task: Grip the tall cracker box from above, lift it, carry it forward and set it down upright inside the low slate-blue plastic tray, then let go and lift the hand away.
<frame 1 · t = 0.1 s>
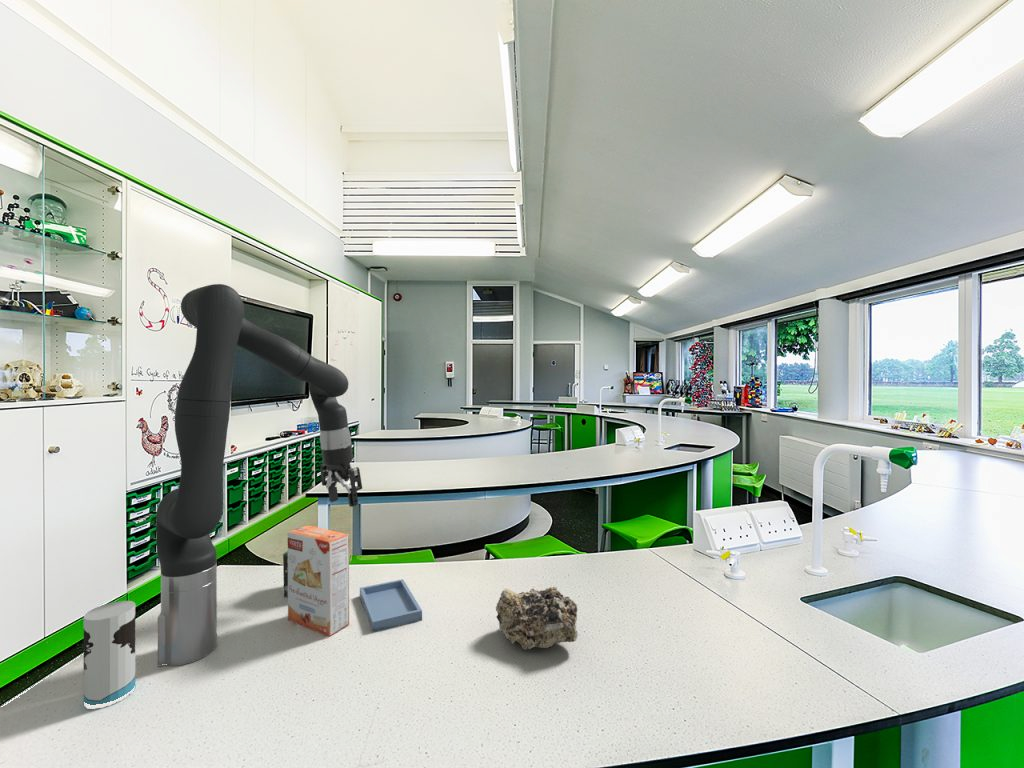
hand: (343, 503, 120), 22 cm above the countertop, tool pointing down, fingers open, 8 cm apart
cracker box: (317, 624, 102), on the countertop
chalk box: (309, 591, 118), on the countertop
white cylindrical canister: (110, 696, 78), on the countertop
mineral specimen: (537, 637, 97), on the countertop
tray: (389, 607, 109), on the countertop
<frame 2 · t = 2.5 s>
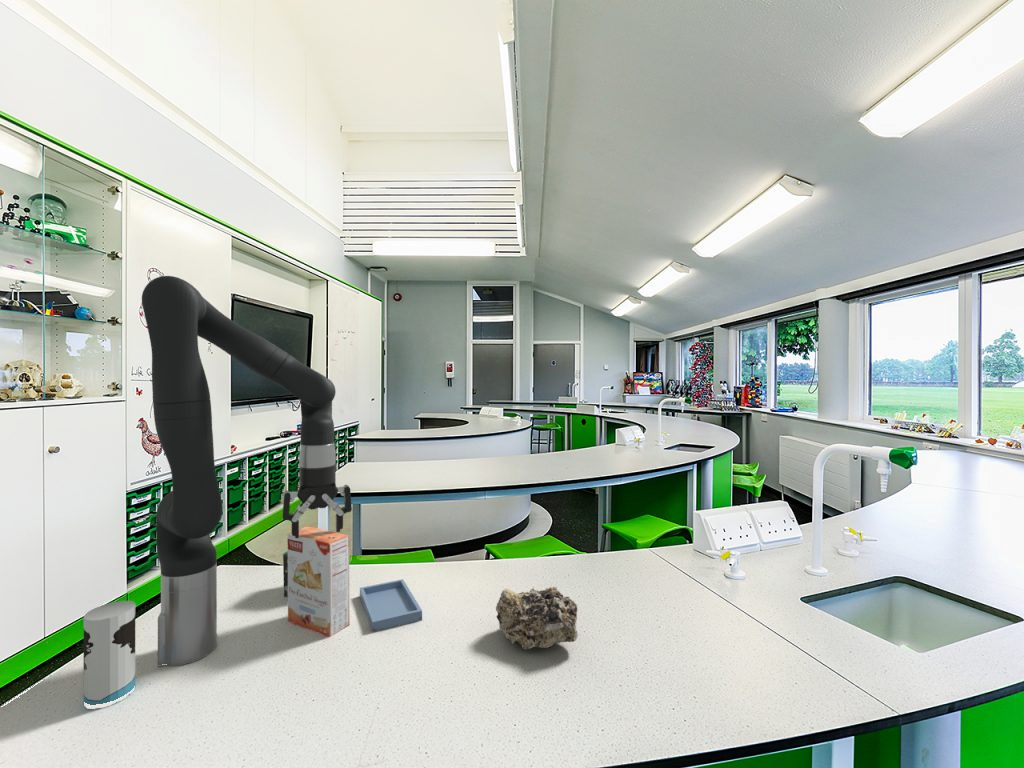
hand: (317, 534, 102), 20 cm above the countertop, tool pointing down, fingers closed on cracker box, 8 cm apart
cracker box: (318, 625, 102), on the countertop, touching gripper
everything else where it was.
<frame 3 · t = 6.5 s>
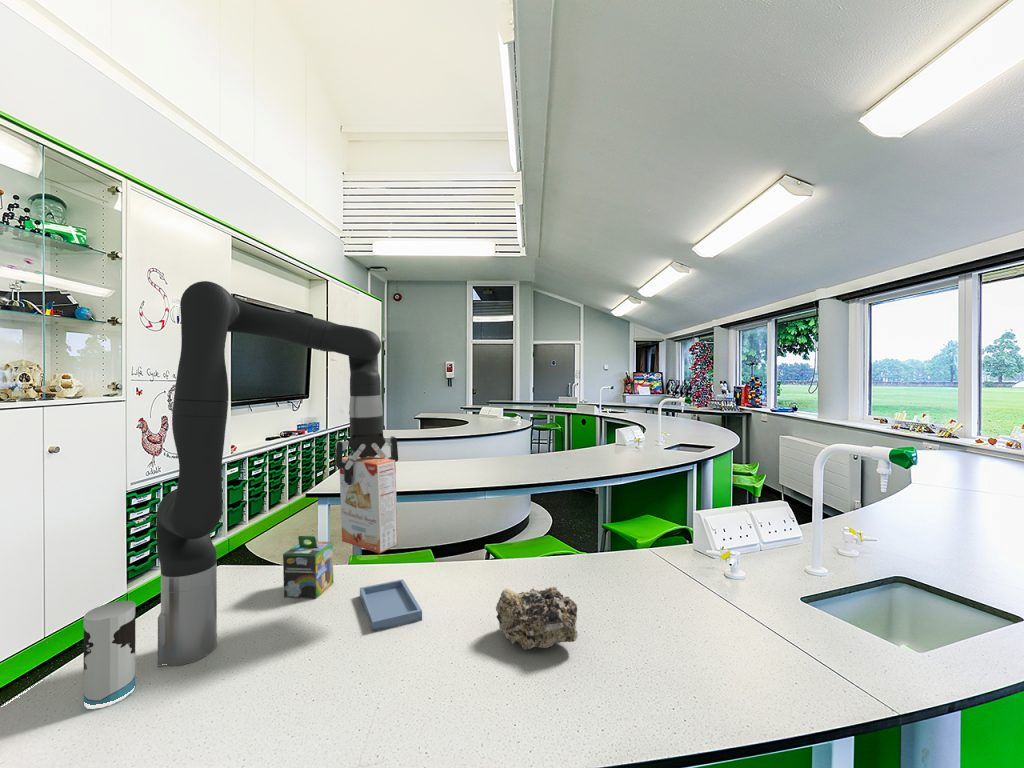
hand: (368, 482, 107), 31 cm above the countertop, tool pointing down, fingers closed on cracker box, 8 cm apart
cracker box: (369, 545, 107), point 16 cm above the countertop, touching gripper
everything else where it was.
when the fingers open (17 cm above the countertop, at t = 9.8 s): cracker box stays where it is, resting on tray.
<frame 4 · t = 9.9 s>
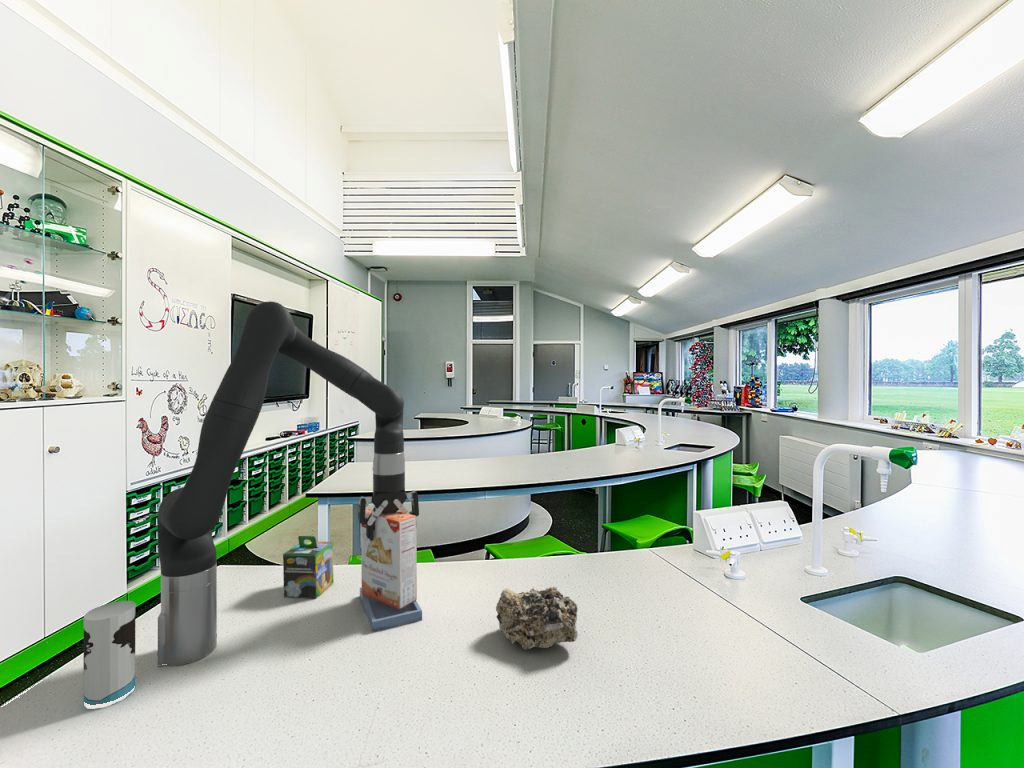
hand: (389, 536, 109), 17 cm above the countertop, tool pointing down, fingers open, 8 cm apart
cracker box: (388, 598, 109), point 2 cm above the countertop, touching tray
everything else where it was.
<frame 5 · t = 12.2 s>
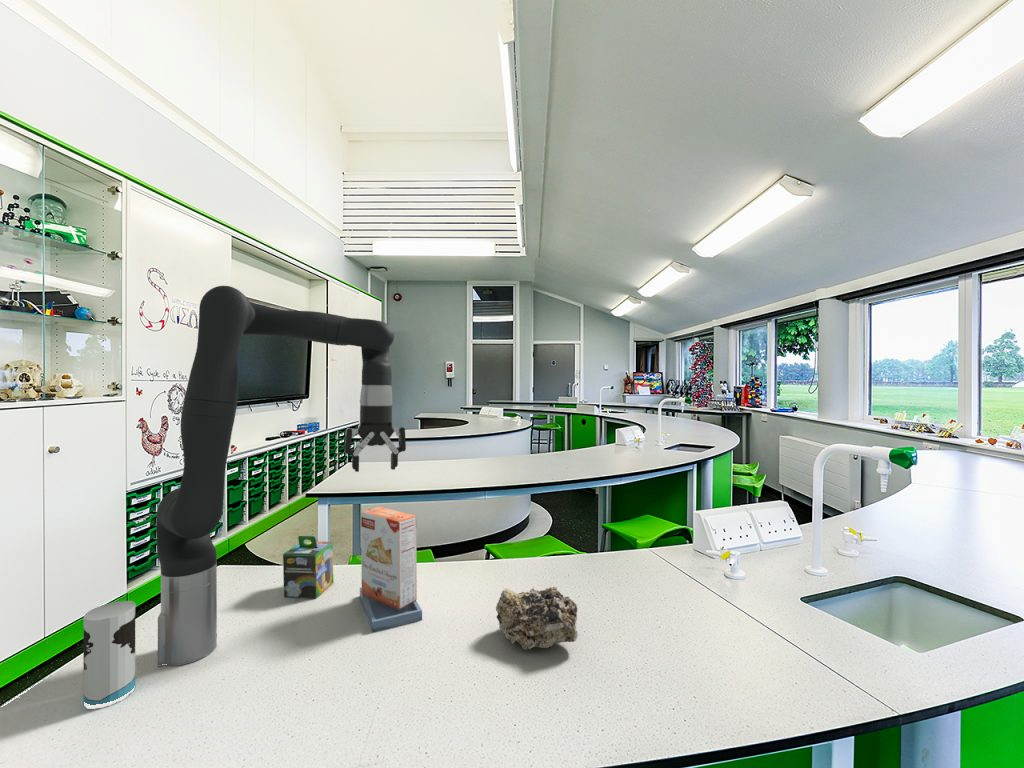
hand: (375, 470, 109), 34 cm above the countertop, tool pointing down, fingers open, 8 cm apart
nothing on the countertop moved.
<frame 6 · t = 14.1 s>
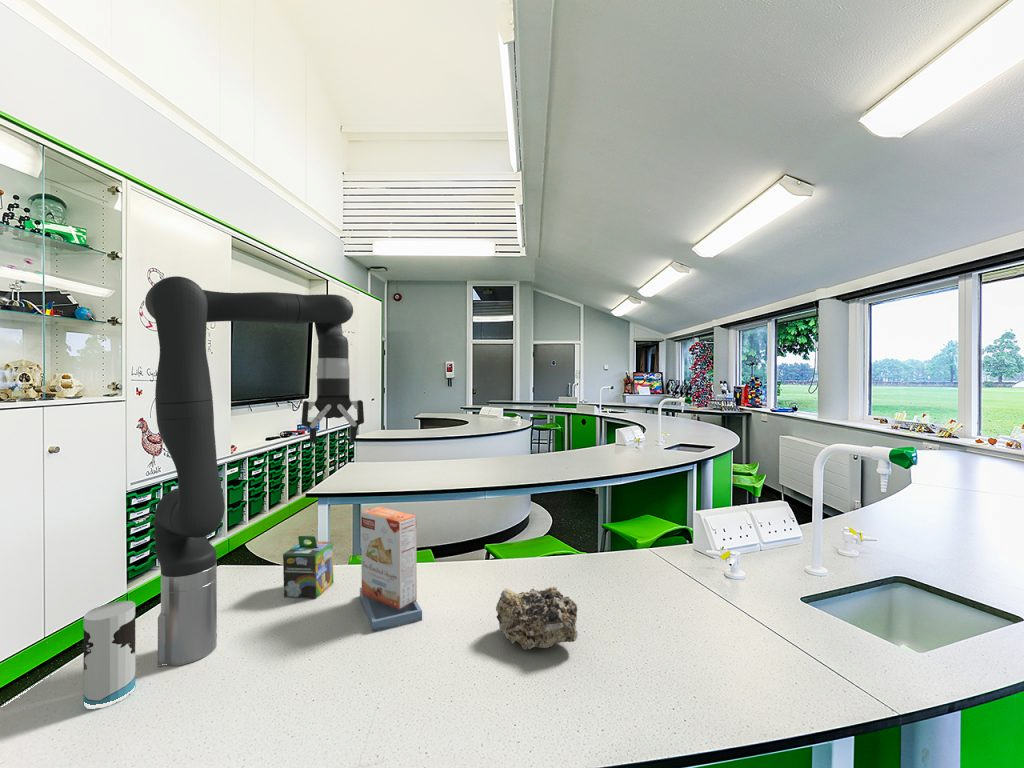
hand: (333, 442, 110), 40 cm above the countertop, tool pointing down, fingers open, 8 cm apart
nothing on the countertop moved.
at the end: cracker box 0.4 cm off-centre on the tray, point 2.0 cm above the tray's base; cracker box tilted 0°; the gripper is holding nothing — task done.
